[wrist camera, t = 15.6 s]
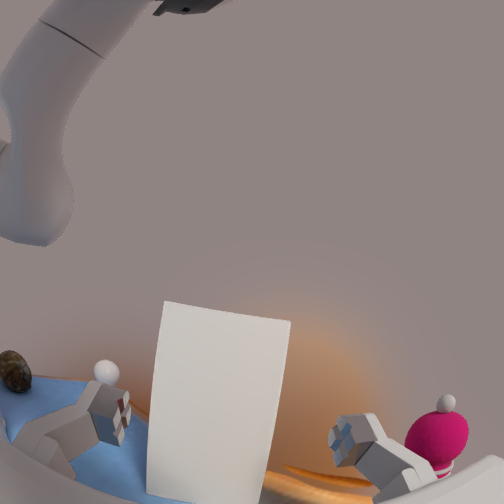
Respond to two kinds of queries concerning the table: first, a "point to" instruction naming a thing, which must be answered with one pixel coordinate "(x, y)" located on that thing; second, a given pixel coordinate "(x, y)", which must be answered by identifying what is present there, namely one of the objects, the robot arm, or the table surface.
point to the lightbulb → (106, 372)
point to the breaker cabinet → (213, 404)
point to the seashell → (14, 371)
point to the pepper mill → (439, 436)
